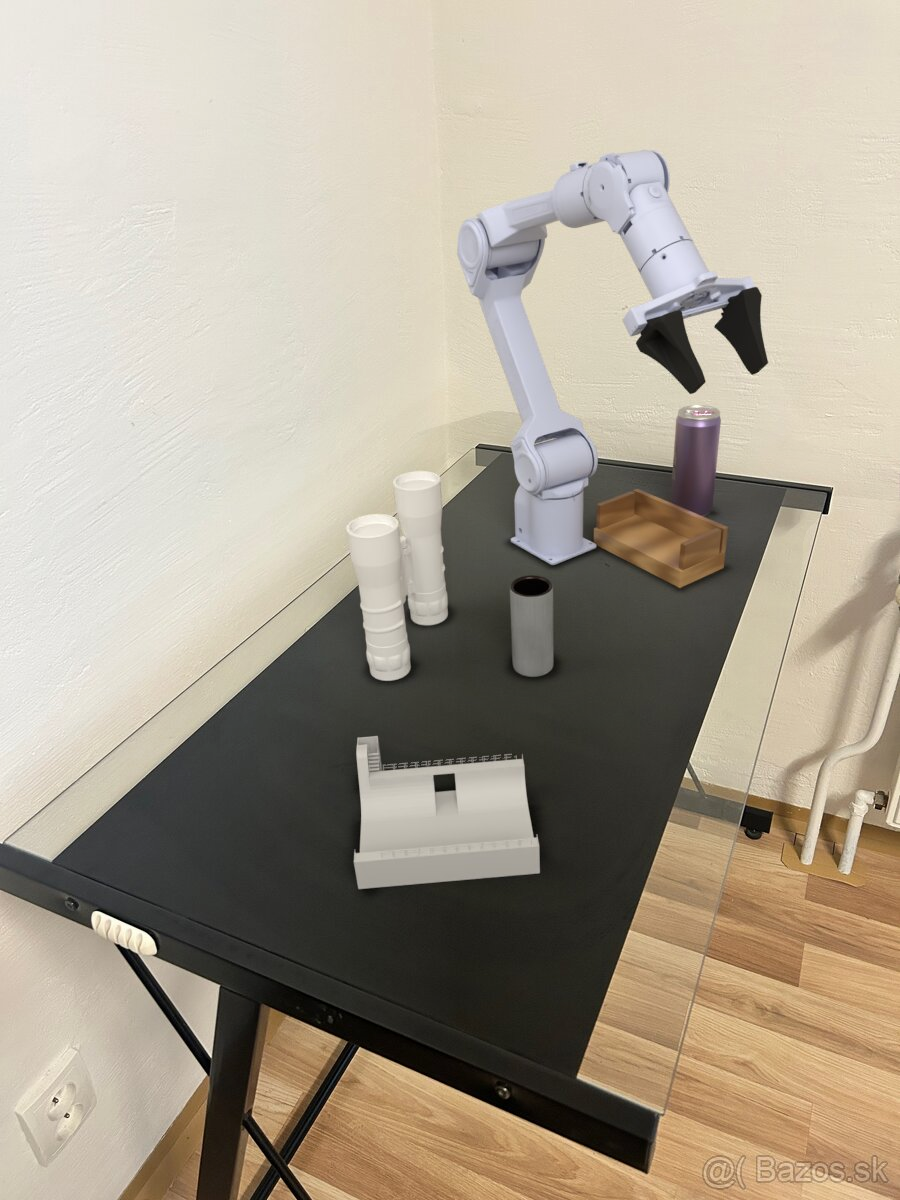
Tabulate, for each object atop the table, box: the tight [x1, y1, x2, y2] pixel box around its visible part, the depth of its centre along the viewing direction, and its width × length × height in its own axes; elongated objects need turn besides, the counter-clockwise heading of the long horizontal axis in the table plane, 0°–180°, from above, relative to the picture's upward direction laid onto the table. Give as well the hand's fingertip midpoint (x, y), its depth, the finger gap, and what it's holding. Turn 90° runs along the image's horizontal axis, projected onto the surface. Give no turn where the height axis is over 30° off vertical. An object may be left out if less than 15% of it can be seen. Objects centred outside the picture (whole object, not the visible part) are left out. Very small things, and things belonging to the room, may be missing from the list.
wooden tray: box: [593, 488, 729, 589], centre depth 116 cm, size 16×8×6 cm, turn 34°
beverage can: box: [669, 404, 722, 517], centre depth 125 cm, size 6×6×15 cm
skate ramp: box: [353, 735, 541, 890], centre depth 77 cm, size 15×13×5 cm
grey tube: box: [509, 574, 554, 678], centre depth 95 cm, size 4×4×10 cm
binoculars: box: [345, 470, 449, 682], centre depth 99 cm, size 17×5×18 cm, turn 159°
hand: (729, 378), depth 84 cm, fingers open, 7 cm apart
